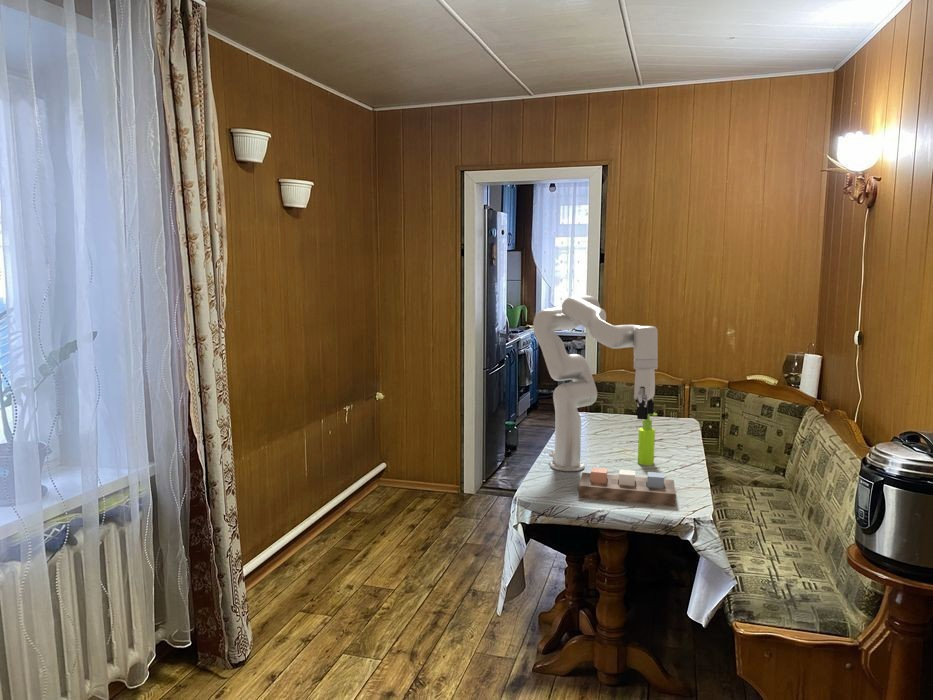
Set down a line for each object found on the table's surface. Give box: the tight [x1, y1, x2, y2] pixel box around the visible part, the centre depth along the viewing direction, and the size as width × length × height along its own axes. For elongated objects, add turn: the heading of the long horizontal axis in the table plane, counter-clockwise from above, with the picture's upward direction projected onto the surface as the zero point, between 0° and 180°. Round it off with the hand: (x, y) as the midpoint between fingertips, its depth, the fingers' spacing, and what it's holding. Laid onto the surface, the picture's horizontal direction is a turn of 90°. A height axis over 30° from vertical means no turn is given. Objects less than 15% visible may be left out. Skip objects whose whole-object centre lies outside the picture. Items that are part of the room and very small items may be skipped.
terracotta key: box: [590, 466, 608, 484], centre depth 221 cm, size 5×5×4 cm
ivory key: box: [618, 469, 636, 486], centre depth 218 cm, size 5×5×4 cm
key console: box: [577, 472, 677, 507], centre depth 219 cm, size 30×14×4 cm, turn 75°
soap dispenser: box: [637, 412, 658, 466], centre depth 252 cm, size 6×7×20 cm
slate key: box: [646, 471, 665, 489], centre depth 216 cm, size 5×5×4 cm
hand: (645, 416), depth 217 cm, fingers open, 9 cm apart
